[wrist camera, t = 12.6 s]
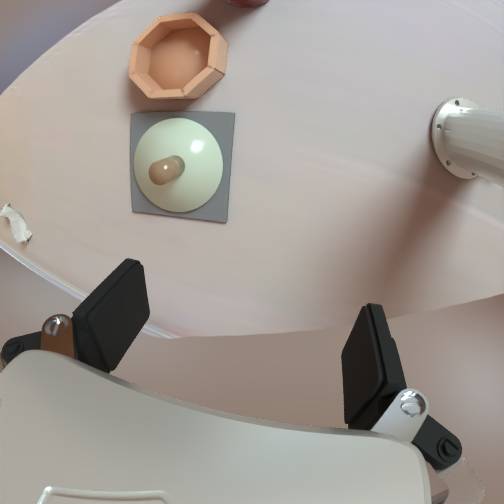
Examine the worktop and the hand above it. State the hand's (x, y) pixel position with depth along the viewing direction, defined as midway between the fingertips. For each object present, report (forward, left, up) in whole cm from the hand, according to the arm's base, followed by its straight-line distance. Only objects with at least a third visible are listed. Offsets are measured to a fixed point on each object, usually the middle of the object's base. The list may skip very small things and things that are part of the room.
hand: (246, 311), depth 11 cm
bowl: (+15, -16, -29) cm, 36 cm away
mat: (+15, 0, -29) cm, 33 cm away
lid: (+15, 0, -28) cm, 32 cm away
